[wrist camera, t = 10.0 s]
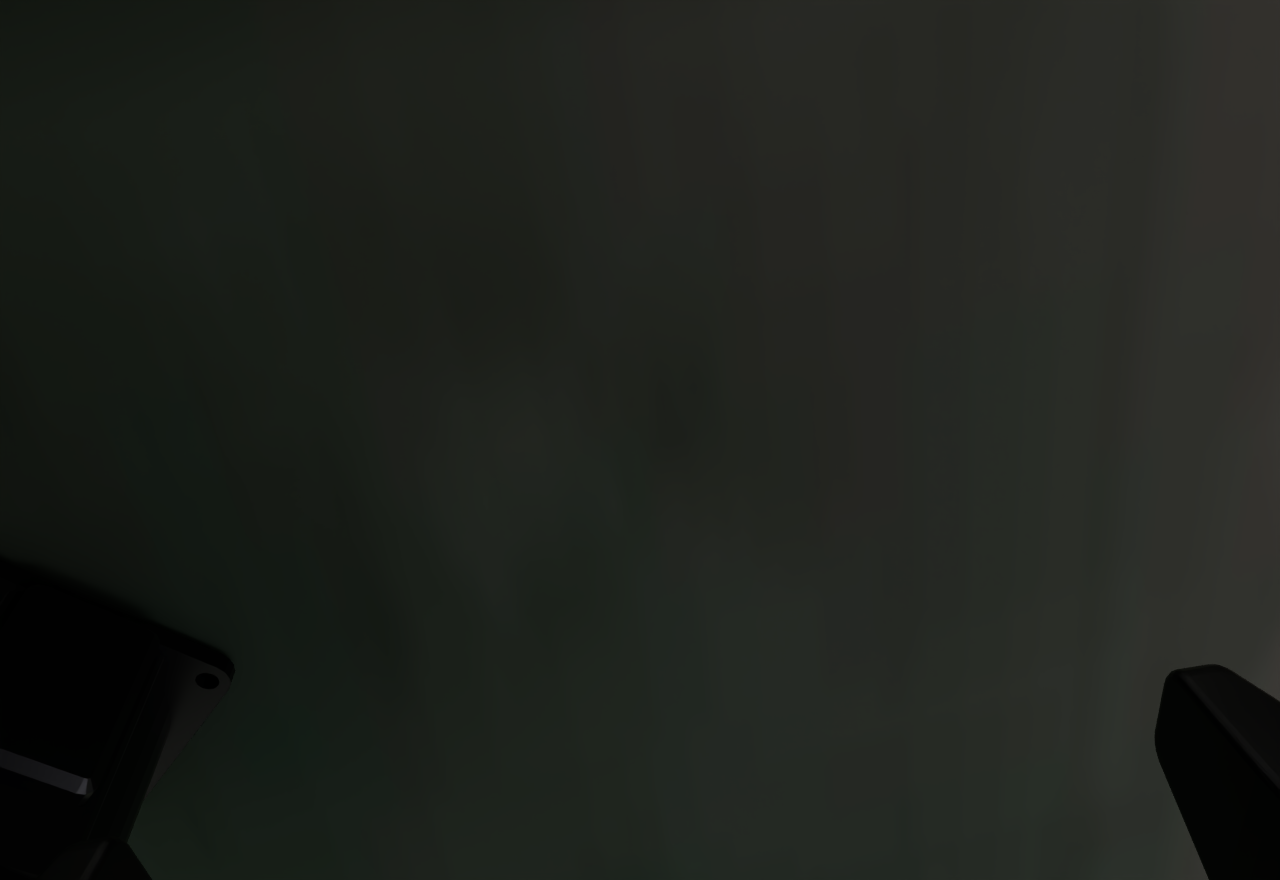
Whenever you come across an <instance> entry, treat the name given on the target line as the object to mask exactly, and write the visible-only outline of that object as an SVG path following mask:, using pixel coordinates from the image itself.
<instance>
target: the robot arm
mask: <svg viewBox="0 0 1280 880" xmlns="http://www.w3.org/2000/svg"><path fill="white" fill-rule="evenodd" d="M205 673H209V674H213V675H214V676H210V675H207V674H205ZM234 673H235V668H234V664H233V663H232V662H231V661H230V659H228V658H227V657H225V656H223V655H221V654H219V653H217V652H214V651H212V650H210V649H207V648H205V647H203V646H200V645H198V644H195V643H193V642H191V641H188V640H186V639H184V638H181V637H179V636H176V635H174V634H172V633H169V632H167V631H165V630H162V629H160V628H158V627H155V626H153V625H150V624H148V623H146V622H143V621H141V620H139V619H136V618H134V617H131V616H129V615H127V614H124V613H122V612H120V611H117V610H115V609H113V608H110V607H108V606H105V605H103V604H101V603H98V602H96V601H94V600H91V599H89V598H86V597H84V596H82V595H79V594H77V593H75V592H72V591H70V590H68V589H65V588H63V587H60V586H58V585H56V584H53V583H51V582H49V581H46V580H44V579H42V578H39V577H37V576H34V575H32V574H30V573H27V572H25V571H23V570H20V569H18V568H15V567H13V566H11V565H8V564H6V563H4V562H1V561H0V880H152V878H151V877H150V876H149V874H148V873H147V871H146V870H145V868H144V867H143V865H142V864H141V862H140V861H139V859H138V858H137V856H136V855H135V854H134V852H133V851H132V849H131V848H130V846H129V845H128V844H127V841H128V839H129V836H130V833H131V831H132V828H133V826H134V823H135V820H136V818H137V815H138V813H139V810H140V807H141V805H142V802H143V801H144V799H145V798H146V797H147V795H148V794H149V793H150V791H151V790H152V789H153V788H154V786H155V785H156V784H157V782H158V781H159V780H160V778H161V777H162V776H163V774H164V773H165V772H166V771H167V769H168V768H169V767H170V765H171V764H172V763H173V761H174V760H175V759H176V758H177V756H178V755H179V754H180V752H181V751H182V750H183V748H184V747H185V746H186V744H187V743H188V742H189V741H190V739H191V738H192V737H193V735H194V734H195V733H196V731H197V730H198V729H199V728H200V726H201V725H202V724H203V722H204V721H205V720H206V718H207V717H208V716H209V714H210V713H211V712H212V711H213V709H214V708H215V707H216V705H217V704H218V703H219V701H220V700H221V699H222V697H223V696H224V695H225V694H226V692H227V691H228V690H229V687H230V685H231V682H232V679H233V676H234ZM1155 747H1156V752H1157V756H1158V759H1159V762H1160V765H1161V767H1162V769H1163V772H1164V774H1165V777H1166V779H1167V781H1168V784H1169V786H1170V788H1171V791H1172V793H1173V796H1174V798H1175V800H1176V803H1177V805H1178V807H1179V810H1180V812H1181V814H1182V817H1183V819H1184V822H1185V824H1186V826H1187V829H1188V831H1189V833H1190V836H1191V838H1192V841H1193V843H1194V845H1195V848H1196V850H1197V852H1198V855H1199V857H1200V860H1201V862H1202V864H1203V867H1204V869H1205V871H1206V874H1207V876H1208V879H1209V880H1280V701H1278V700H1277V699H1275V698H1274V697H1272V696H1271V695H1269V694H1267V693H1266V692H1264V691H1263V690H1261V689H1260V688H1258V687H1257V686H1255V685H1253V684H1252V683H1250V682H1249V681H1247V680H1246V679H1244V678H1242V677H1241V676H1239V675H1238V674H1236V673H1235V672H1233V671H1231V670H1230V669H1228V668H1226V667H1223V666H1220V665H1216V664H1208V665H1202V666H1196V667H1189V668H1183V669H1177V670H1174V671H1172V672H1171V673H1170V674H1169V675H1168V676H1167V677H1166V680H1165V683H1164V687H1163V693H1162V698H1161V703H1160V708H1159V713H1158V718H1157V724H1156V729H1155Z"/></svg>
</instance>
